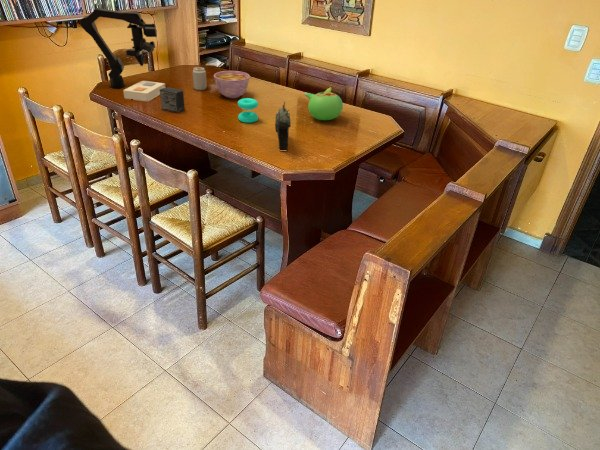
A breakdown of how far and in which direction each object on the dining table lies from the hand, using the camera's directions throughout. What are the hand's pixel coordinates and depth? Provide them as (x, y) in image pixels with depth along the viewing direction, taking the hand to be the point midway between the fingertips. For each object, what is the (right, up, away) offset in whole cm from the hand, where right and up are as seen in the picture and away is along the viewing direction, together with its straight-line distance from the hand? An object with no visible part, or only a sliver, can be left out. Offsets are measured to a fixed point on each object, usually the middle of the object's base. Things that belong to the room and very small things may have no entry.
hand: (141, 65), depth 255 cm
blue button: (+5, -15, -2) cm, 16 cm away
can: (+32, -11, +9) cm, 35 cm away
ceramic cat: (+82, -55, -52) cm, 112 cm away
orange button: (+3, -20, -10) cm, 22 cm away
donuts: (+64, -38, -29) cm, 80 cm away
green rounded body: (+103, -36, -22) cm, 111 cm away
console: (+4, -18, -5) cm, 19 cm away
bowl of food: (+52, -17, +1) cm, 55 cm away
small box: (+25, -31, -22) cm, 46 cm away
